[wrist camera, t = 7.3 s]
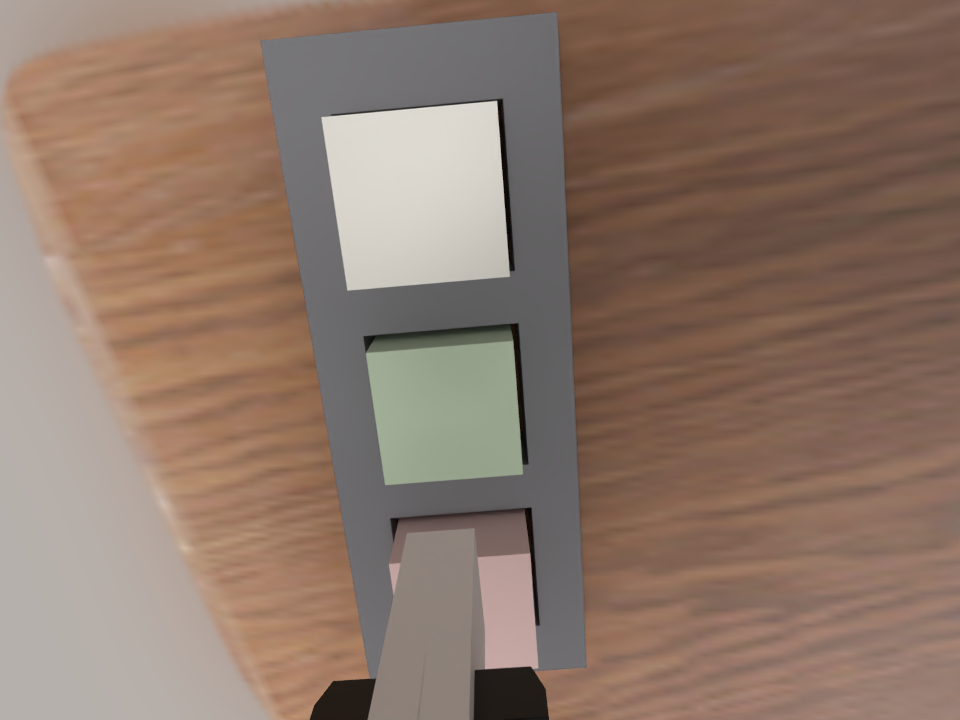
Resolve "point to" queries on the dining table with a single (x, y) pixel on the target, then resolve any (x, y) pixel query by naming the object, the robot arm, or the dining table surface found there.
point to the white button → (418, 195)
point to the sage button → (446, 404)
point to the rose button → (491, 578)
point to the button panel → (443, 294)
